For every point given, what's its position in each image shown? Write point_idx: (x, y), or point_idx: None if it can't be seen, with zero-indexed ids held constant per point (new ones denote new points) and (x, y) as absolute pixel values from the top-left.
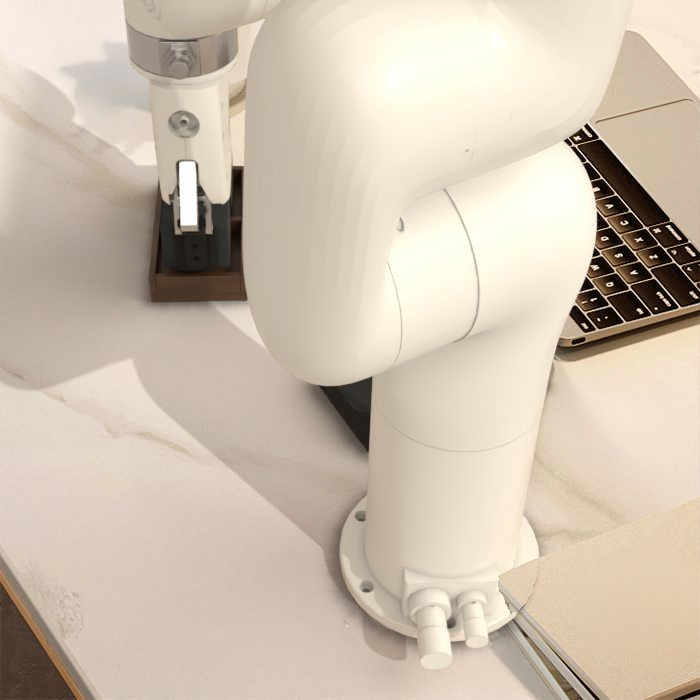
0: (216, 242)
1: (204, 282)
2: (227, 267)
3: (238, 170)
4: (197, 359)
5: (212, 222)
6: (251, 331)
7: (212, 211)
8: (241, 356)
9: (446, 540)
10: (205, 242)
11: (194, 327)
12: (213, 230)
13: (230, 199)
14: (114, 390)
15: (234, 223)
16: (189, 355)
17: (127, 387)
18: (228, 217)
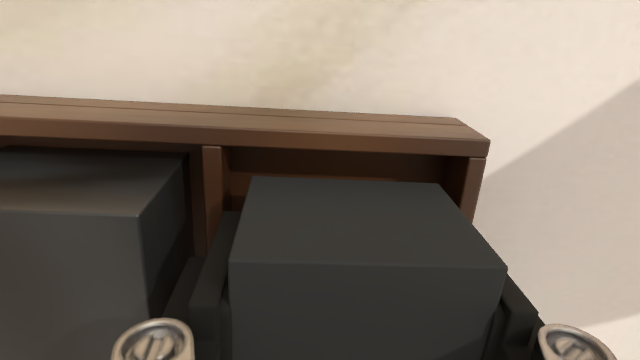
0: (506, 275)
1: None
2: (368, 171)
3: None
4: (609, 225)
5: (548, 347)
6: (563, 112)
7: (398, 317)
8: (635, 138)
9: None
10: (541, 322)
11: (514, 231)
12: (533, 318)
13: (160, 192)
14: (633, 351)
15: (223, 161)
16: (593, 240)
17: (634, 334)
18: (388, 242)
